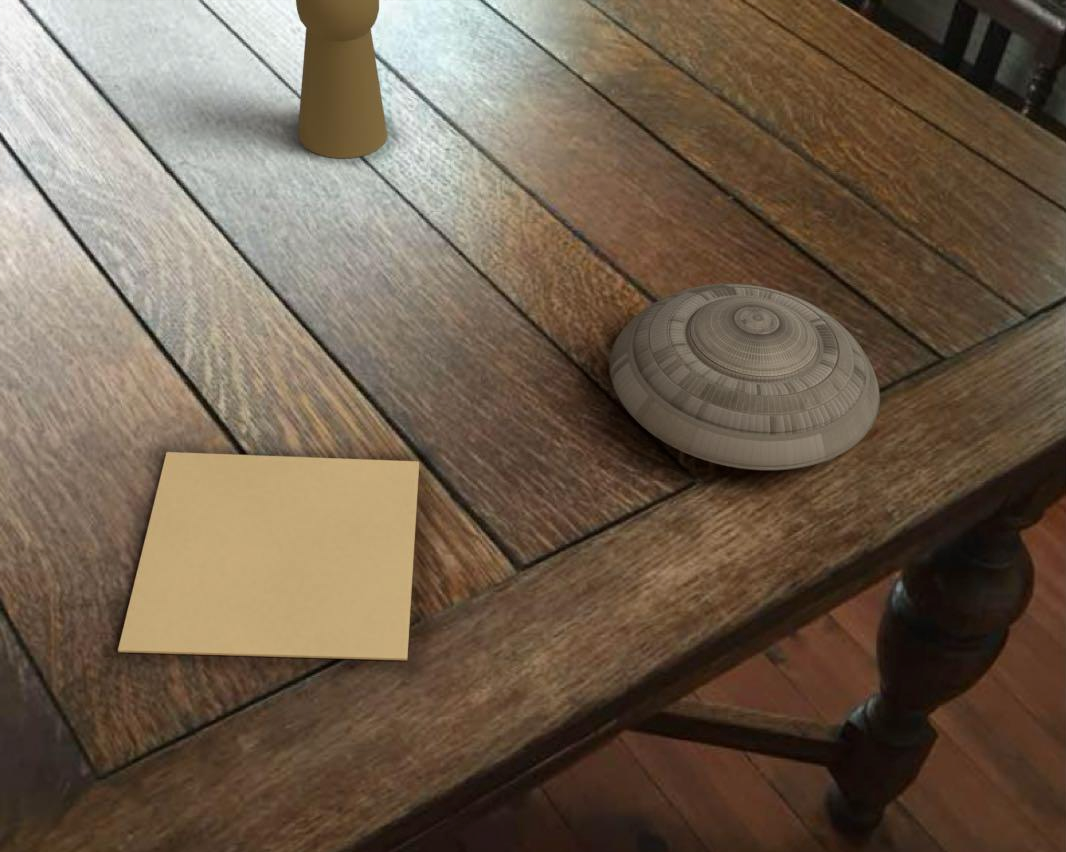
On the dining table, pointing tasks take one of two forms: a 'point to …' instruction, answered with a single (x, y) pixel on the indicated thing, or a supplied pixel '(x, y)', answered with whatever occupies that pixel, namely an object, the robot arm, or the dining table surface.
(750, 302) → the flying saucer
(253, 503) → the felt square
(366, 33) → the brown peg doll
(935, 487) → the dining table surface
